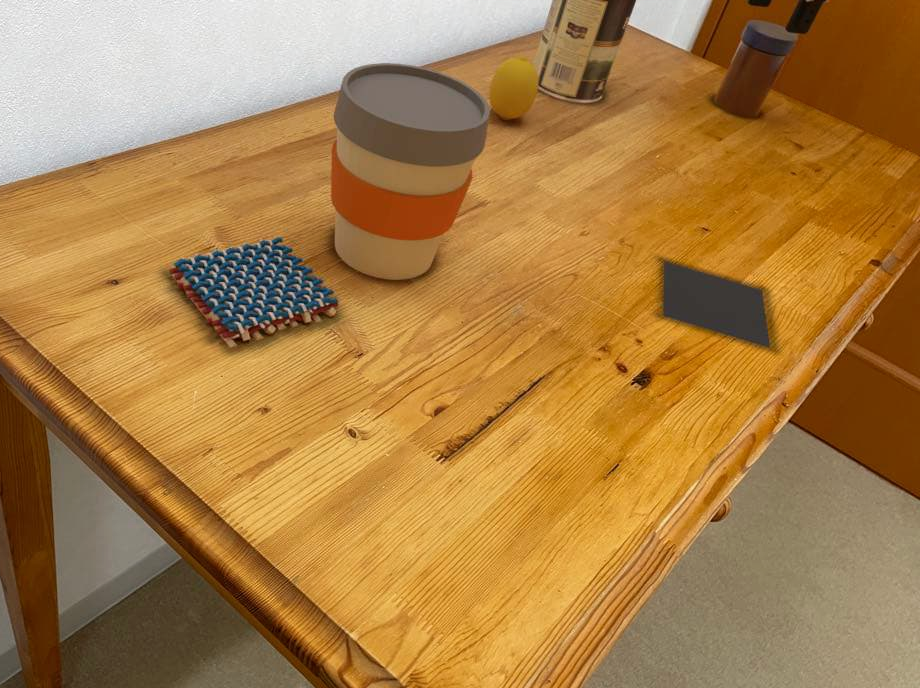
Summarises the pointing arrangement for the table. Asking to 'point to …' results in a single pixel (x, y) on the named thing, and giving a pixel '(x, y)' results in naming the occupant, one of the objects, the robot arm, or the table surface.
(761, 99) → the jar
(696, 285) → the coaster
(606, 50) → the coffee can
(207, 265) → the woven mat
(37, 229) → the table surface
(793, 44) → the lid
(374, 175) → the reusable coffee cup
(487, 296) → the table surface
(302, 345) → the table surface
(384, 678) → the table surface
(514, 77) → the lemon
